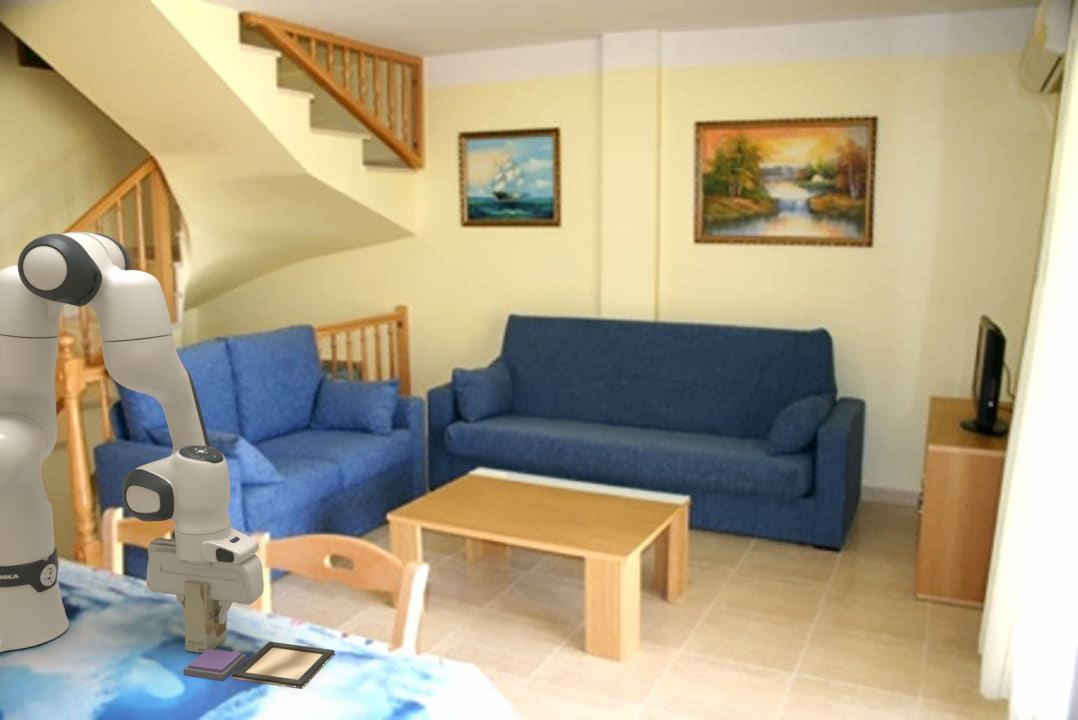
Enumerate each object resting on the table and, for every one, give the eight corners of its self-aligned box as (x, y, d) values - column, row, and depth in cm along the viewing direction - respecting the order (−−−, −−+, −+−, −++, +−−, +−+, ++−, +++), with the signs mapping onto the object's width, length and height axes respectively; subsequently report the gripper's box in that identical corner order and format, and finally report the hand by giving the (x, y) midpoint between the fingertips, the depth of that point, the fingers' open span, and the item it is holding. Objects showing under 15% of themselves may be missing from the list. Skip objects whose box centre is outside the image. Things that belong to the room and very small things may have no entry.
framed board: (232, 678, 149) (232, 674, 149) (269, 645, 161) (269, 641, 161) (301, 688, 147) (301, 684, 147) (334, 654, 158) (334, 650, 158)
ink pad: (183, 674, 150) (183, 666, 150) (207, 655, 157) (207, 646, 156) (223, 680, 149) (222, 671, 148) (246, 660, 155) (245, 652, 155)
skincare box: (207, 655, 157) (206, 585, 155) (184, 651, 158) (182, 582, 156) (228, 638, 163) (227, 571, 161) (205, 635, 164) (204, 568, 162)
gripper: (136, 542, 156) (139, 620, 158) (248, 555, 152) (249, 635, 154) (159, 530, 162) (162, 605, 165) (267, 542, 158) (268, 620, 160)
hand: (205, 620), depth 159 cm, fingers closed on skincare box, 4 cm apart
